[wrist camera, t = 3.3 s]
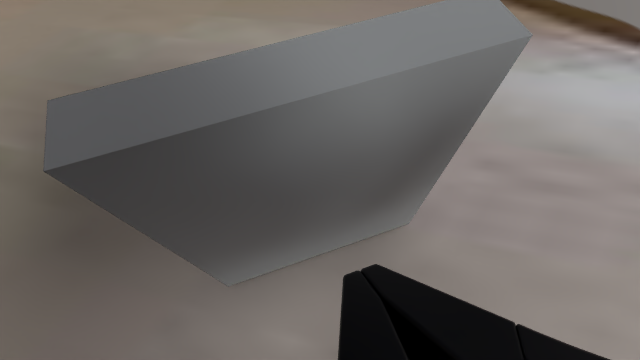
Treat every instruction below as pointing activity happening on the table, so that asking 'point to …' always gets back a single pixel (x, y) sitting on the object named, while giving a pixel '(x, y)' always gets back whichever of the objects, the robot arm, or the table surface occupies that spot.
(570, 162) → the table surface
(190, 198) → the grey tile
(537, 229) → the table surface
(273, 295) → the table surface
